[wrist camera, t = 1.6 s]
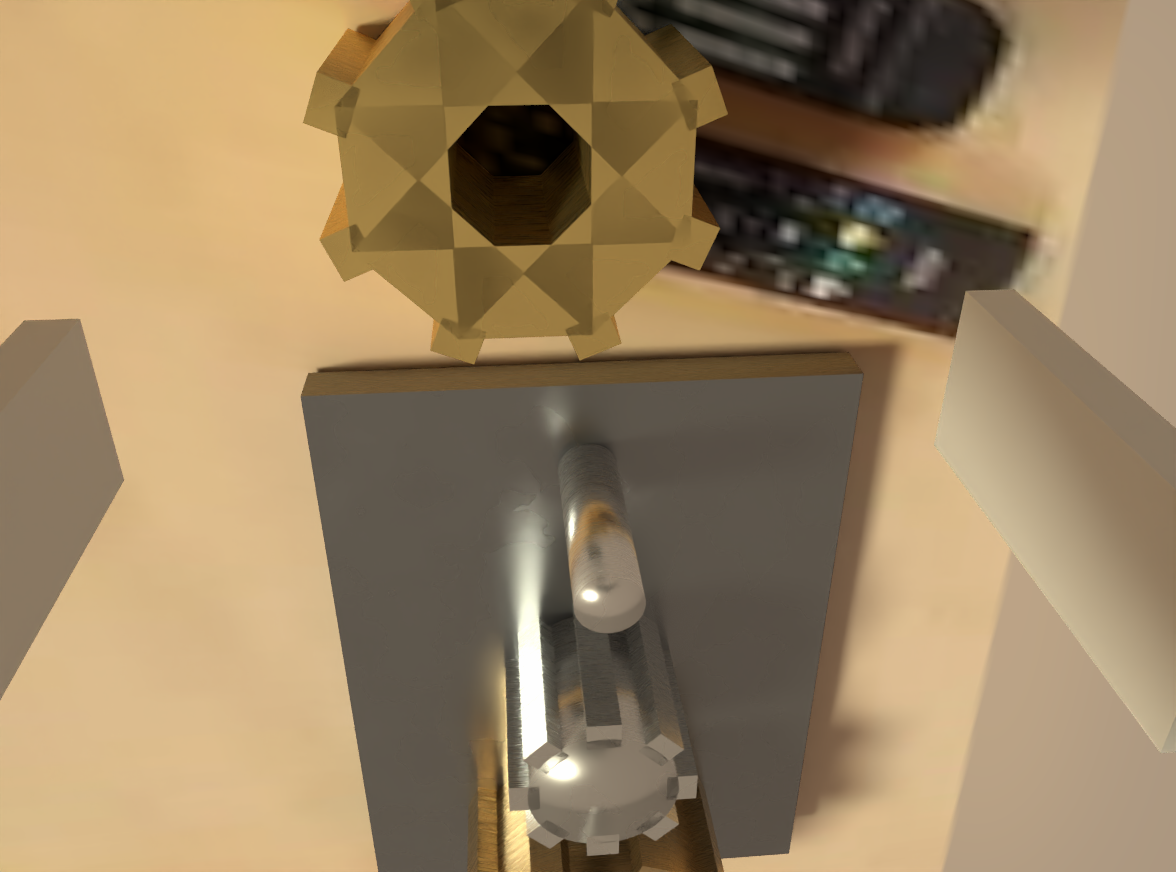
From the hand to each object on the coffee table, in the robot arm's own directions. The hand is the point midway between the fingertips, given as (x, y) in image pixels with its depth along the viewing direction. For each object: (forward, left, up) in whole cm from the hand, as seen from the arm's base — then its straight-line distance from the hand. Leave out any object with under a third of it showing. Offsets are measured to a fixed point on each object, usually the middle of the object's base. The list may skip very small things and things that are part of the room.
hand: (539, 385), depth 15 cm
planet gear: (0, 0, -16) cm, 16 cm away
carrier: (+20, +2, -16) cm, 26 cm away
